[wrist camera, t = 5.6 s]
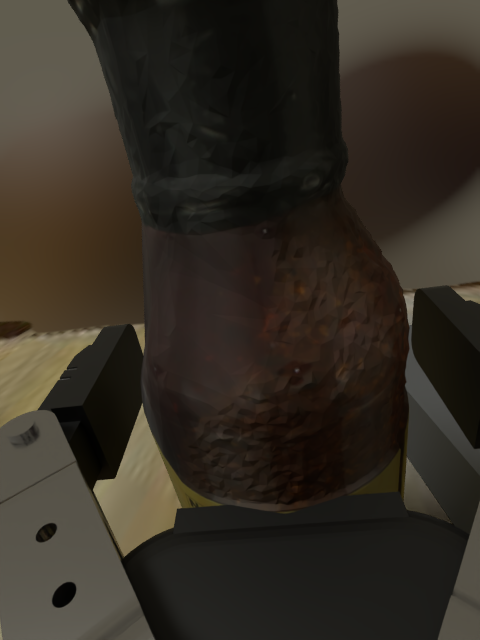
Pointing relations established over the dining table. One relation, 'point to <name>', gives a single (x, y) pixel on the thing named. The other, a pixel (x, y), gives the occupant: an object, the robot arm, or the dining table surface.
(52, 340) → the dining table surface
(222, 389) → the sauce bottle
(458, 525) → the charcoal base
